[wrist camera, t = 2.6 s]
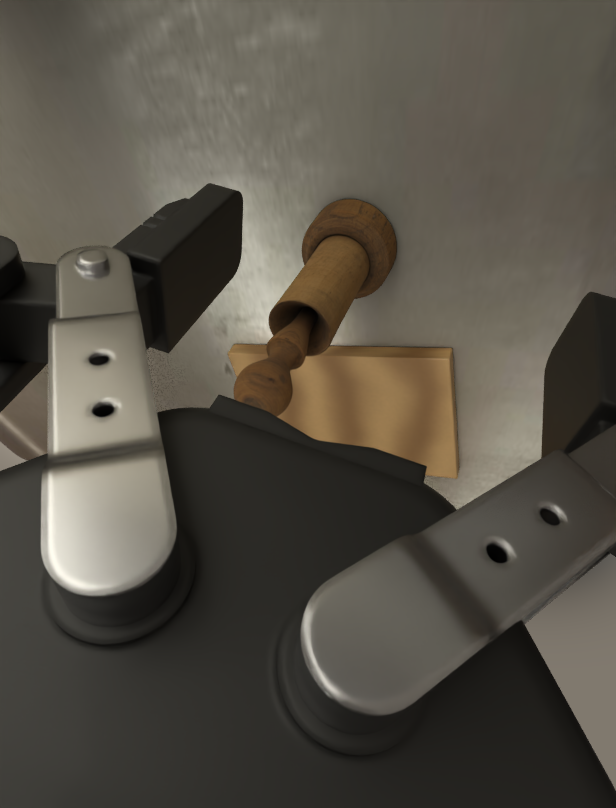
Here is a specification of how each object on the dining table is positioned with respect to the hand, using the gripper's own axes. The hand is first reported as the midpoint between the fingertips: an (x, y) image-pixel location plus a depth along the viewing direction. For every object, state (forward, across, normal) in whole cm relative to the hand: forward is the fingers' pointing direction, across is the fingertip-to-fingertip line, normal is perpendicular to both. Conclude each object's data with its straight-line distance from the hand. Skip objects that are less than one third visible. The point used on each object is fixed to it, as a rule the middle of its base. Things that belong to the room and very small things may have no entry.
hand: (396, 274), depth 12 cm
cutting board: (+24, +3, +29) cm, 38 cm away
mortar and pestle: (+24, +5, +13) cm, 27 cm away
